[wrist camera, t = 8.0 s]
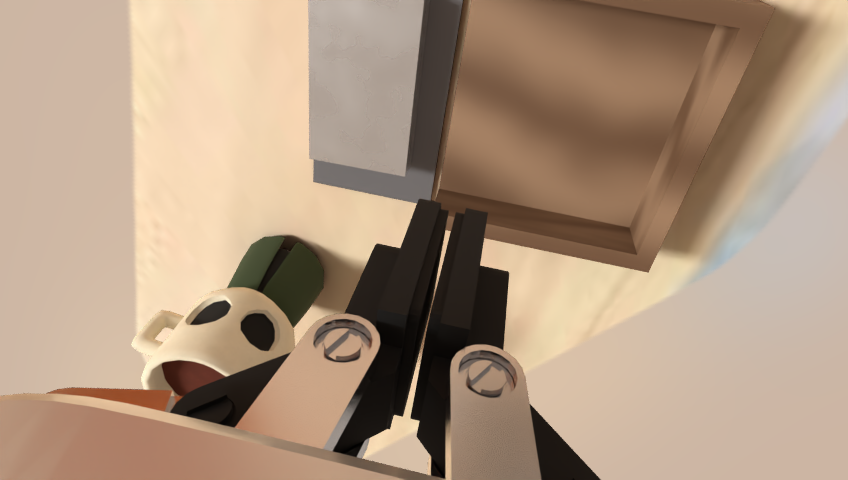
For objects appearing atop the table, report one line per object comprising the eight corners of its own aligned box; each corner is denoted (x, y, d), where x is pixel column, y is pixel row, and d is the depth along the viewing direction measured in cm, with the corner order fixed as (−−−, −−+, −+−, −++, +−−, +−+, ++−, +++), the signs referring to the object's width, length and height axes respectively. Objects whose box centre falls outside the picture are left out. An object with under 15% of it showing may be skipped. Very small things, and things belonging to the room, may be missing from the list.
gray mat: (319, -98, 27) (317, -98, 26) (474, -72, 26) (474, -71, 26) (314, 179, 36) (313, 181, 35) (430, 203, 35) (429, 205, 35)
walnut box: (481, -52, 26) (474, -44, 23) (744, -7, 26) (775, 8, 22) (439, 194, 35) (429, 226, 31) (637, 235, 34) (648, 272, 30)
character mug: (365, 255, 38) (300, 394, 28) (345, 321, 42) (282, 465, 32) (224, 204, 38) (103, 325, 27) (217, 276, 42) (110, 405, 32)
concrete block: (321, -26, 28) (308, -21, 27) (431, -8, 28) (424, -2, 26) (320, 145, 34) (309, 158, 32) (411, 162, 33) (404, 176, 32)
